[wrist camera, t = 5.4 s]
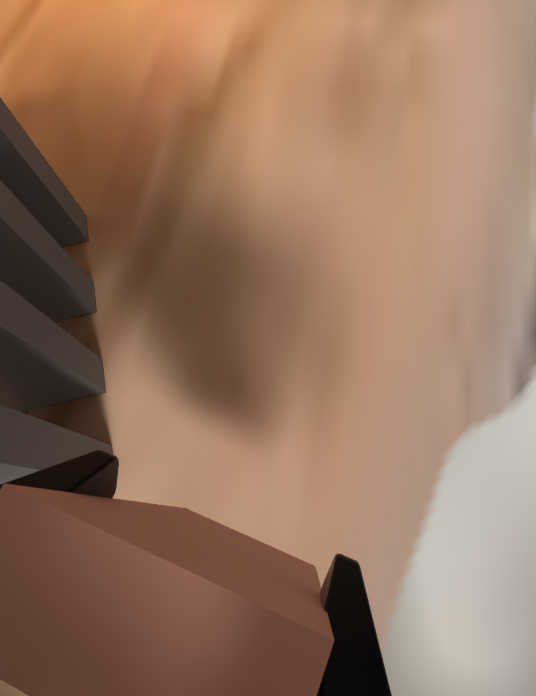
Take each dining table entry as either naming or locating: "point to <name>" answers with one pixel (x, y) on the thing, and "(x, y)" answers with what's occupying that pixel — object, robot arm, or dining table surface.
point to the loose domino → (150, 603)
